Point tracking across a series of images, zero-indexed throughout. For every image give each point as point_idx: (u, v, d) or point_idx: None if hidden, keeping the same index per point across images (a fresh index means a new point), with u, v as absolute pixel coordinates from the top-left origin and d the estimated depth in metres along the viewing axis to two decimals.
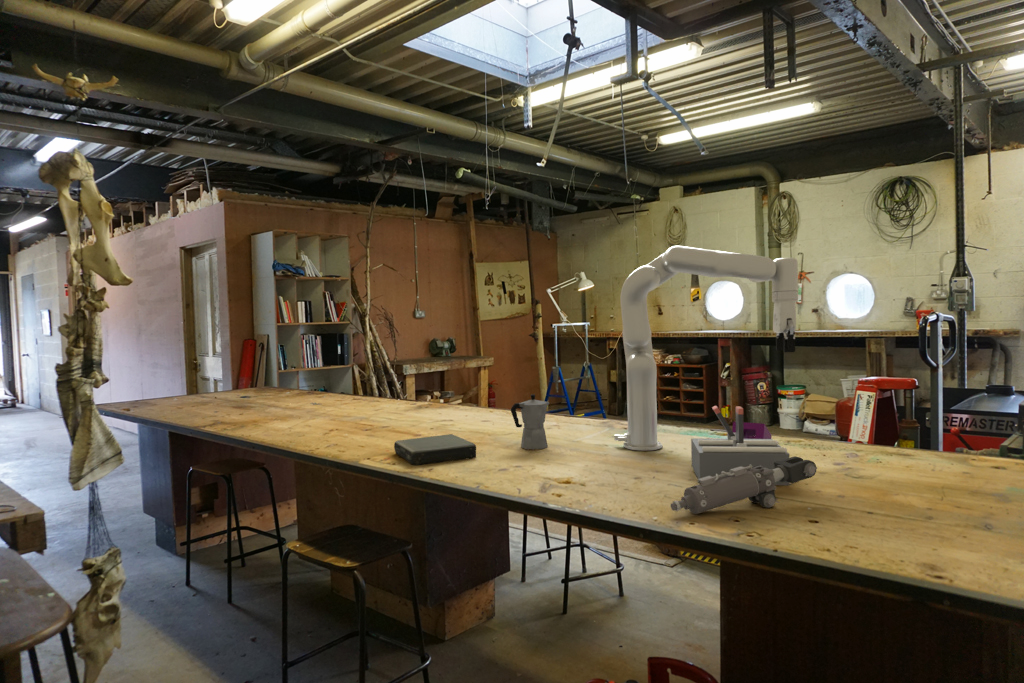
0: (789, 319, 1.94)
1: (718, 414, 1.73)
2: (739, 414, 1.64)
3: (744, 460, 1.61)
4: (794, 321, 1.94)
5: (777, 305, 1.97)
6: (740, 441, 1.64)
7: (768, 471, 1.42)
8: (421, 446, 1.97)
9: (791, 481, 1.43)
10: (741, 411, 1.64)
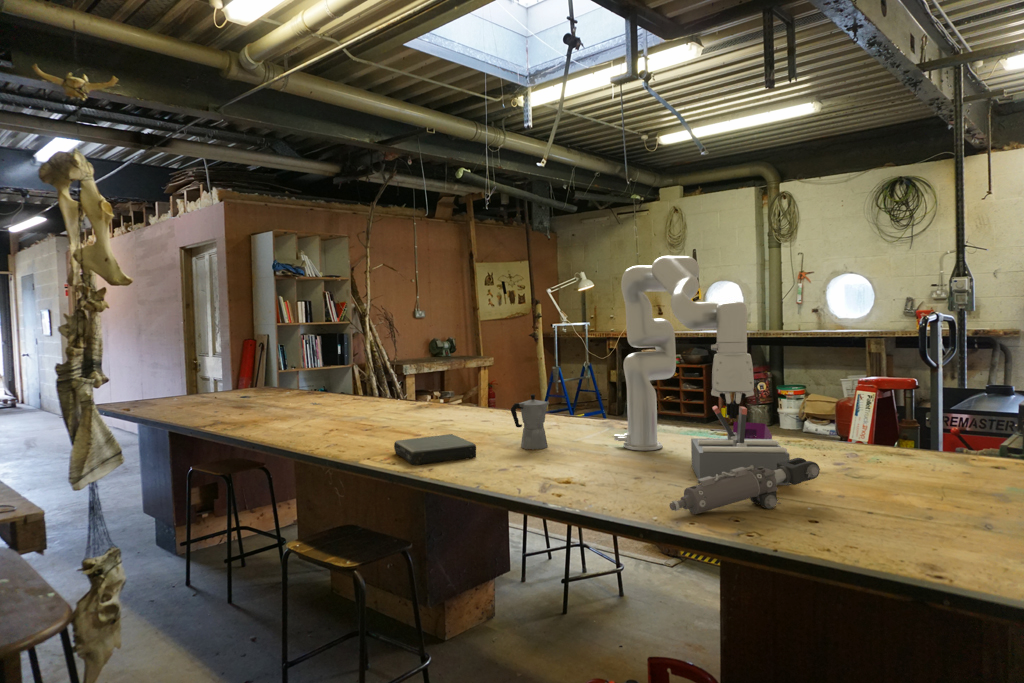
0: None
1: (718, 414, 1.73)
2: (742, 414, 1.64)
3: (744, 460, 1.61)
4: None
5: (740, 359, 1.62)
6: (741, 441, 1.64)
7: (769, 472, 1.41)
8: (421, 446, 1.97)
9: (793, 482, 1.42)
10: (745, 411, 1.63)
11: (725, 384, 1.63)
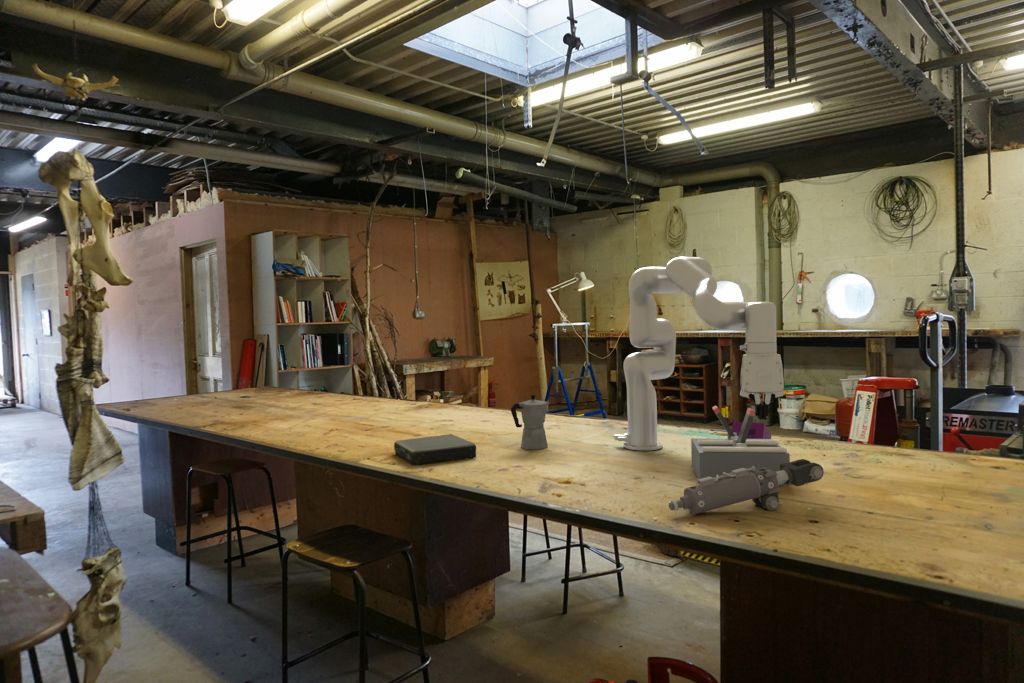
0: None
1: (718, 414, 1.73)
2: (750, 415, 1.63)
3: (744, 460, 1.61)
4: None
5: (770, 359, 1.61)
6: (742, 441, 1.64)
7: (771, 473, 1.40)
8: (421, 446, 1.97)
9: (796, 484, 1.41)
10: (753, 413, 1.63)
11: (755, 385, 1.62)
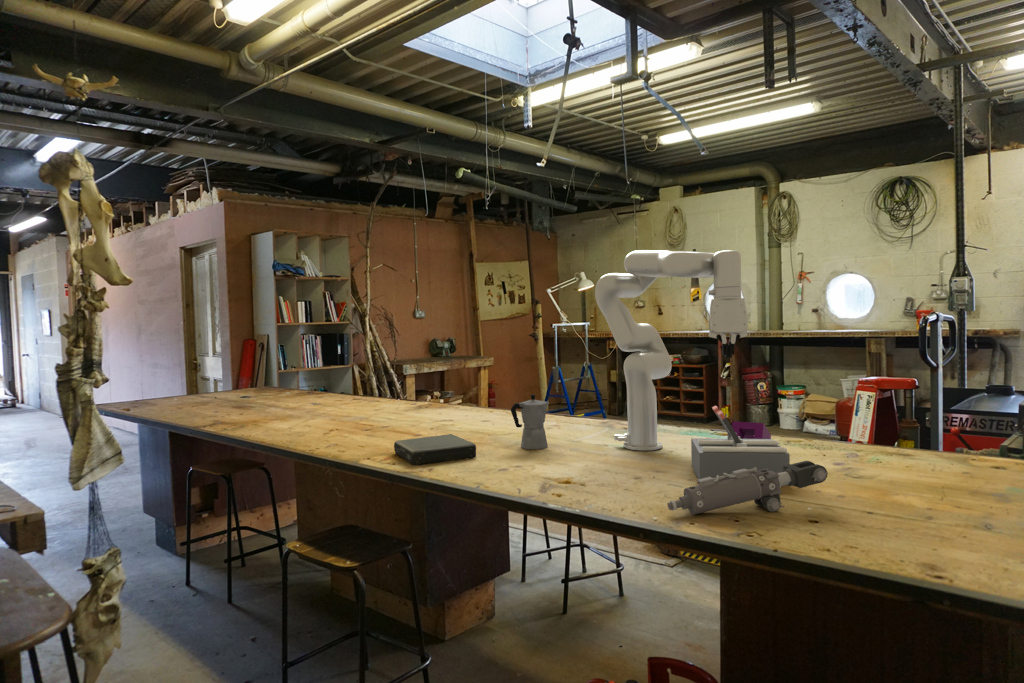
0: None
1: None
2: (722, 419, 1.64)
3: (744, 460, 1.61)
4: None
5: (735, 302, 1.78)
6: (737, 442, 1.64)
7: (772, 474, 1.39)
8: (421, 446, 1.97)
9: (798, 486, 1.39)
10: (723, 415, 1.64)
11: (721, 325, 1.78)
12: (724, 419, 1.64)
